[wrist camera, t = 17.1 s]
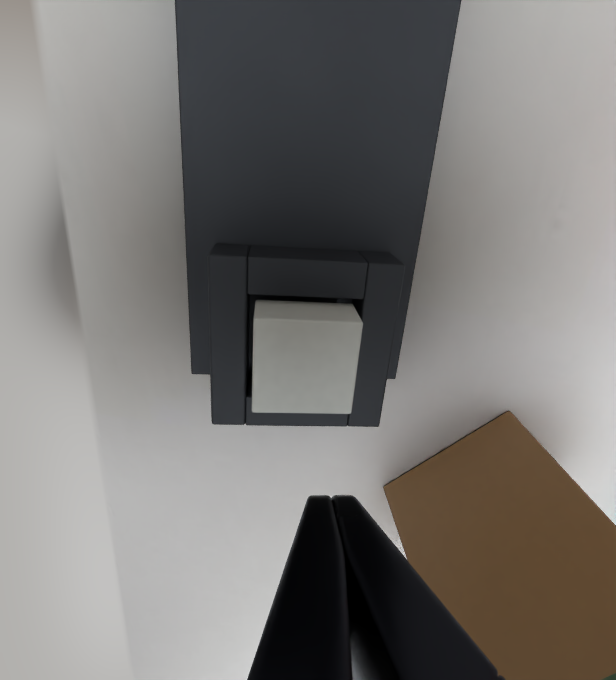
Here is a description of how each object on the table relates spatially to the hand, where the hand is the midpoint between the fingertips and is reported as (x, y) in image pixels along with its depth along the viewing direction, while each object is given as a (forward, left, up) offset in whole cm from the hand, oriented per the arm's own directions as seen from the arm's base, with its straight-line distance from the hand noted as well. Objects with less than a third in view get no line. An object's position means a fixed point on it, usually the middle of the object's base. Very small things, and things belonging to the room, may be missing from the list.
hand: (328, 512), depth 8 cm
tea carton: (+9, -8, -10) cm, 16 cm away
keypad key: (0, 0, -7) cm, 7 cm away
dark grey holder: (0, +7, -10) cm, 12 cm away
